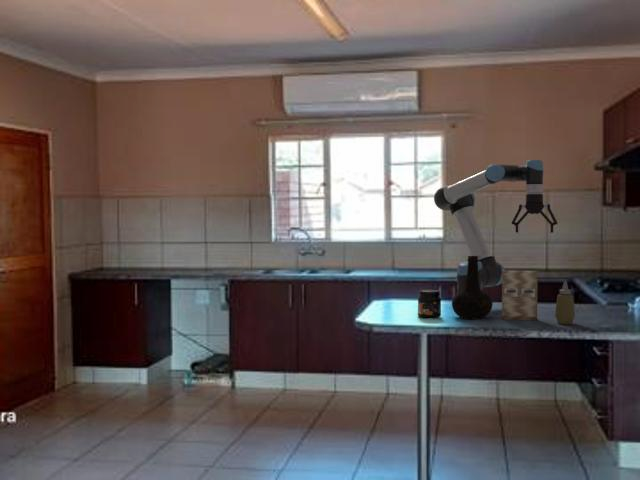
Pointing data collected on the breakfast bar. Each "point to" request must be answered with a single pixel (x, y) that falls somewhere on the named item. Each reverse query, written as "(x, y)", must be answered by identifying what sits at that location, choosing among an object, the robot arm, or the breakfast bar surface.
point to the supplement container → (429, 304)
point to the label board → (519, 295)
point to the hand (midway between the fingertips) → (534, 240)
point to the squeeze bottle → (565, 306)
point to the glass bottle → (472, 295)
